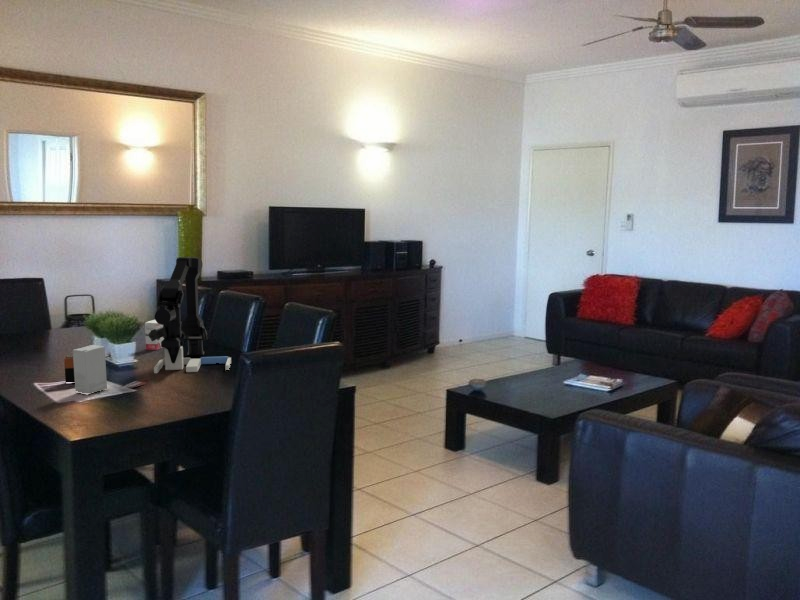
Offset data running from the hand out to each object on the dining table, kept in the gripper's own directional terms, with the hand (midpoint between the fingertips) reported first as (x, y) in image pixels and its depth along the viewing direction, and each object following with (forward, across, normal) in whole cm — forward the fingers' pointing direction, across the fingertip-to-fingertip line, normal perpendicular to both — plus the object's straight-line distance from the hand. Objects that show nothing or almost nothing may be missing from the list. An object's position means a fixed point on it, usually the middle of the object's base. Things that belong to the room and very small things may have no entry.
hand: (174, 361), depth 270 cm
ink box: (+3, -41, -13) cm, 43 cm away
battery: (+3, +17, -30) cm, 35 cm away
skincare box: (+3, +31, -22) cm, 38 cm away
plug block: (+3, 0, 0) cm, 3 cm away
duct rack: (+2, 0, +7) cm, 7 cm away
